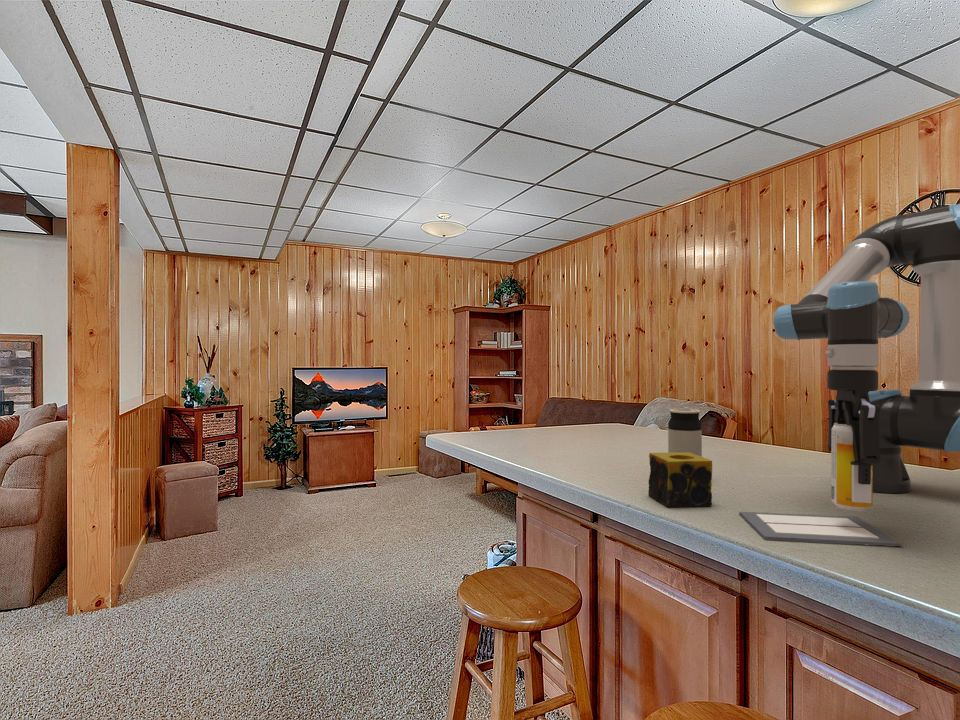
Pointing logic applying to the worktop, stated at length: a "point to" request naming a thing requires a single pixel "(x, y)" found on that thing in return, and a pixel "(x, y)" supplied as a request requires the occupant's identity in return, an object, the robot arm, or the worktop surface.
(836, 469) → the beer can
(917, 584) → the worktop surface
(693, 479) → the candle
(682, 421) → the travel mug
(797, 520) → the blotter
